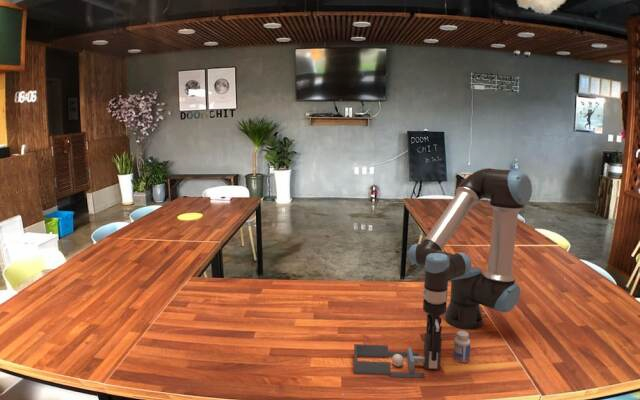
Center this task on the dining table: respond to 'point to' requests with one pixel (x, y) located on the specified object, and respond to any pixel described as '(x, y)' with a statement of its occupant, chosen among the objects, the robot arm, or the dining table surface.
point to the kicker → (425, 358)
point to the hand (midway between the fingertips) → (431, 363)
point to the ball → (397, 360)
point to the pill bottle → (462, 347)
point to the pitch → (379, 367)
